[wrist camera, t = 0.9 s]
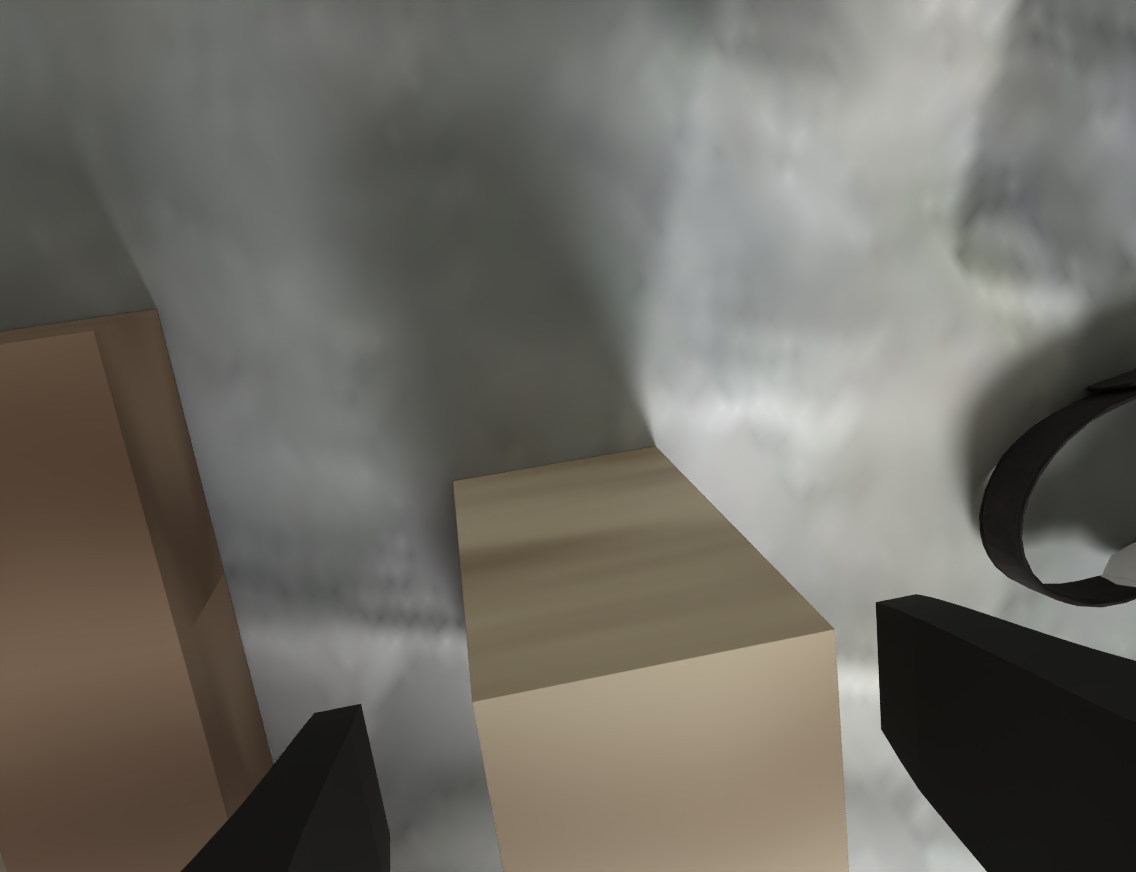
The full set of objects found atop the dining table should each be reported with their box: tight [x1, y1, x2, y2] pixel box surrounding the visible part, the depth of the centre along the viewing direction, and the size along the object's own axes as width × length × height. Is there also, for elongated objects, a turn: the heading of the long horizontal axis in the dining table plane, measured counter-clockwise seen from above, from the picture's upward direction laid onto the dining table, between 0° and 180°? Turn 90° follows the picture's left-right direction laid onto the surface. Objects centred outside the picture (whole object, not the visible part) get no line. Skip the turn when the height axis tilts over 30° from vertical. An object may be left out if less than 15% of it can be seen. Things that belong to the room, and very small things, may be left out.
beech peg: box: [453, 446, 849, 872], centre depth 14 cm, size 4×4×8 cm
